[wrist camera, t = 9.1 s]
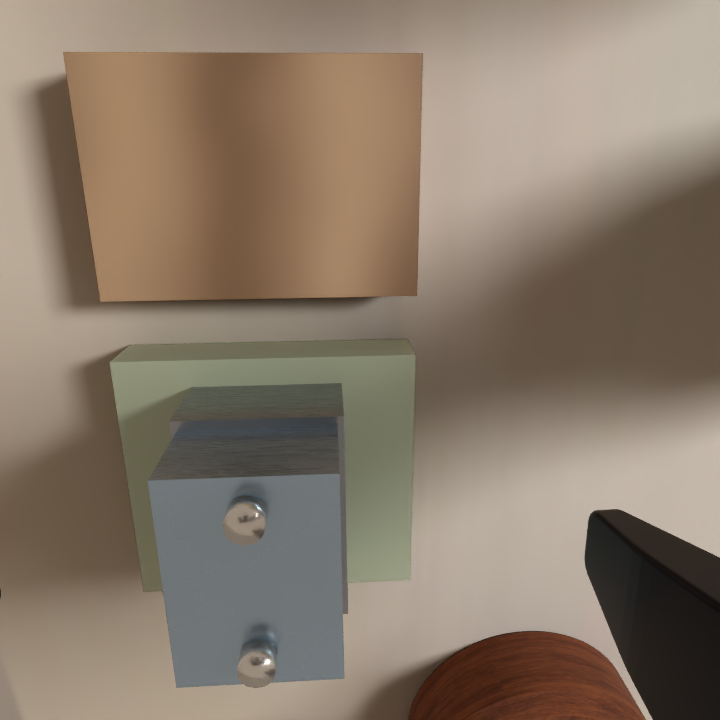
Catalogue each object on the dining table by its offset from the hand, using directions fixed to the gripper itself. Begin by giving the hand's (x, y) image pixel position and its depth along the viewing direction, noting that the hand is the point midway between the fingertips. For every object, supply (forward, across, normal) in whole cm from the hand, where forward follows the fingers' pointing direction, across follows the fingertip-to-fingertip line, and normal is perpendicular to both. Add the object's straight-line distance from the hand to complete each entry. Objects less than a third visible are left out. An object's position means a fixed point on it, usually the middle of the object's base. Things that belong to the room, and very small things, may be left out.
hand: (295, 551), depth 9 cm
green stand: (+13, +2, +5) cm, 14 cm away
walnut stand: (+13, +2, -5) cm, 14 cm away
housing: (+11, +2, +5) cm, 12 cm away
